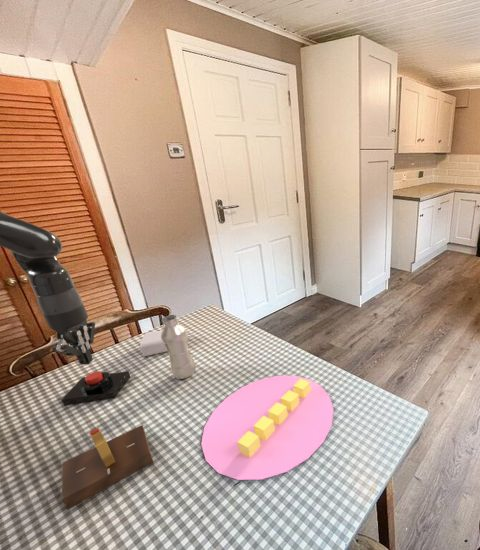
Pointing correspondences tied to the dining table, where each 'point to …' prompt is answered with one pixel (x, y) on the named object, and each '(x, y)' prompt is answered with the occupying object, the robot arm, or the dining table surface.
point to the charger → (154, 343)
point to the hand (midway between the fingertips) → (87, 362)
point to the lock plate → (95, 476)
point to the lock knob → (102, 447)
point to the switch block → (97, 389)
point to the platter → (267, 427)
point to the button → (93, 378)
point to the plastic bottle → (177, 347)
